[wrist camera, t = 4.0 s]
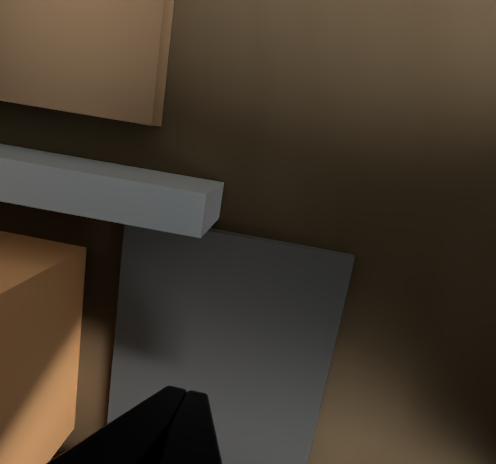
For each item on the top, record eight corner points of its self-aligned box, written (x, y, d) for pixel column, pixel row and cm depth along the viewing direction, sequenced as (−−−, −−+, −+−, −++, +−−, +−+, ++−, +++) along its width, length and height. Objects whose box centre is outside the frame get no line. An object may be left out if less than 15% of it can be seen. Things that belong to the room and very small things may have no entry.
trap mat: (352, 253, 9) (354, 257, 9) (294, 512, 11) (293, 522, 10) (130, 213, 9) (125, 215, 9) (107, 469, 11) (102, 478, 11)
